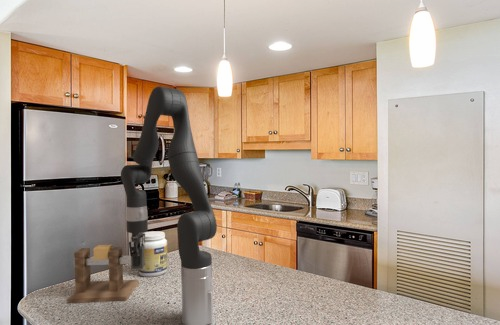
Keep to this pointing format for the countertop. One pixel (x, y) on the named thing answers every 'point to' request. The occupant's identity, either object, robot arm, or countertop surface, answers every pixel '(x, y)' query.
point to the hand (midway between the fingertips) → (137, 264)
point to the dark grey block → (121, 260)
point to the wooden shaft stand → (100, 289)
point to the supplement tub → (154, 254)
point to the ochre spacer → (102, 252)
